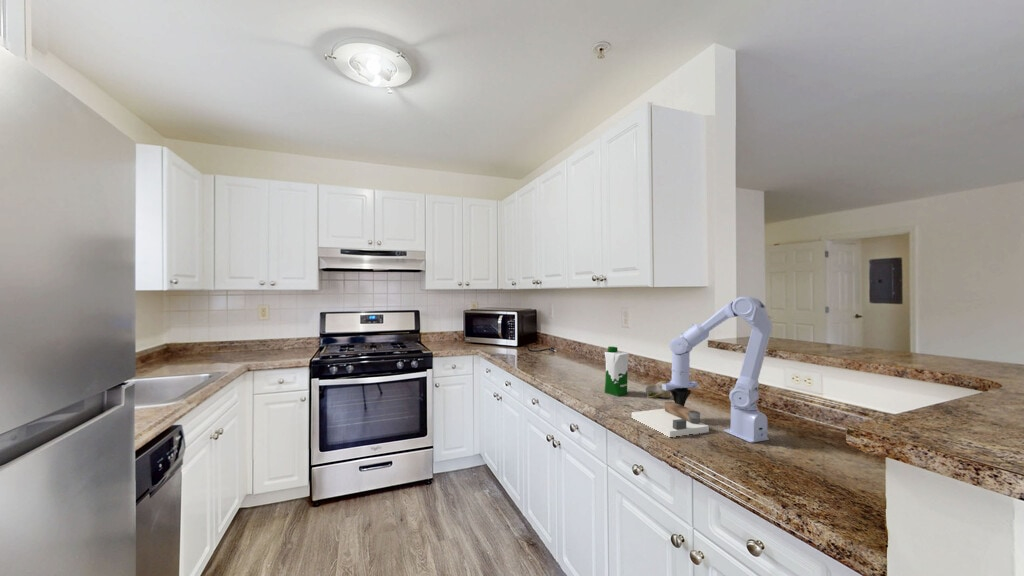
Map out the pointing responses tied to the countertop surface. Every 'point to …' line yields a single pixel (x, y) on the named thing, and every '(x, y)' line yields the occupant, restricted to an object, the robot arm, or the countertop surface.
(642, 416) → the stool seat
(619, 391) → the milk carton
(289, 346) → the countertop surface
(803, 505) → the countertop surface
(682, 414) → the folding leg
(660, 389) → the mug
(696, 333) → the robot arm
